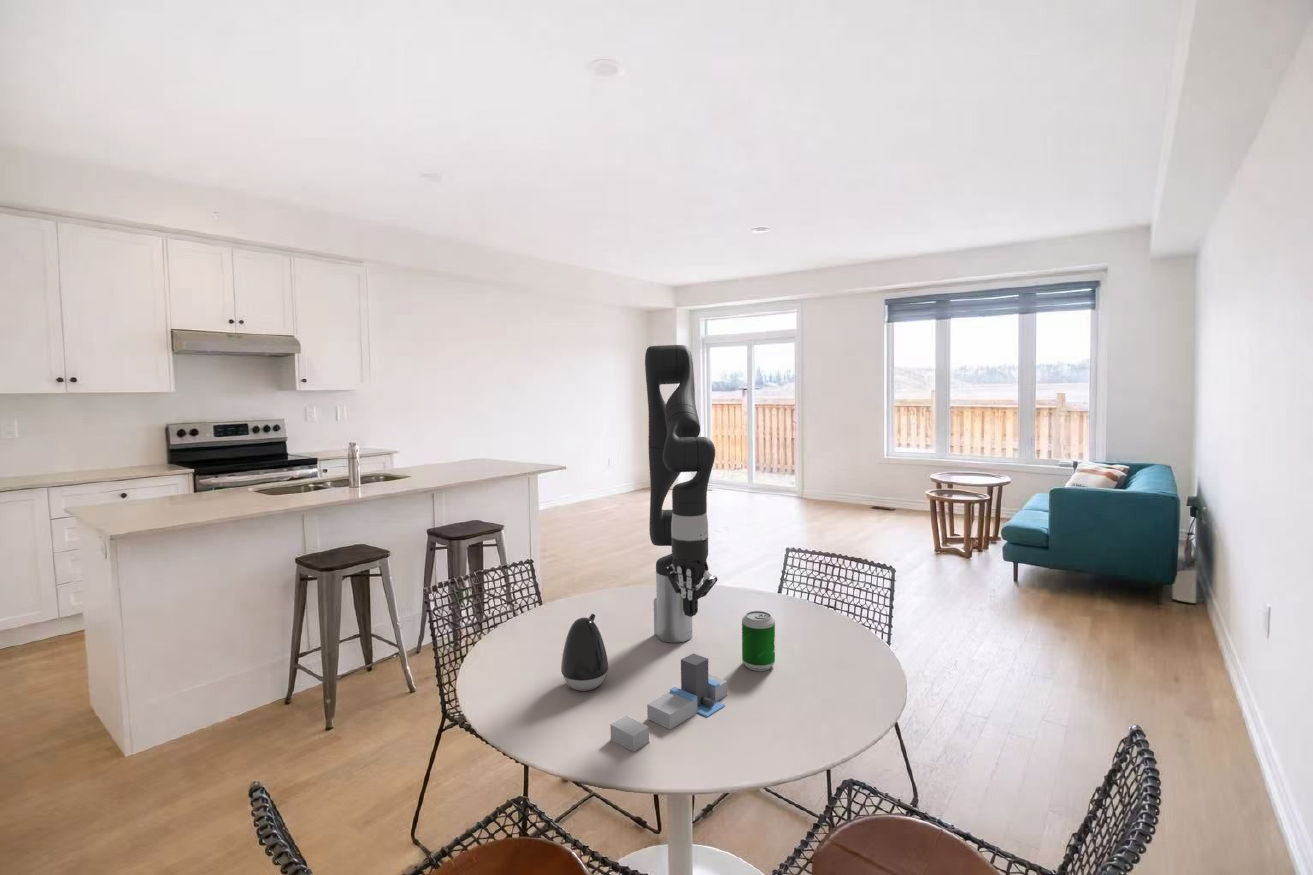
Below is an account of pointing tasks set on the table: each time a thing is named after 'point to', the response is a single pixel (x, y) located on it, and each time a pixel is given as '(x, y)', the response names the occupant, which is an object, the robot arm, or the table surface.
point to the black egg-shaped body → (584, 656)
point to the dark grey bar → (696, 678)
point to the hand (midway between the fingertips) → (690, 614)
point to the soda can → (758, 640)
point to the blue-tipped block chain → (667, 713)
